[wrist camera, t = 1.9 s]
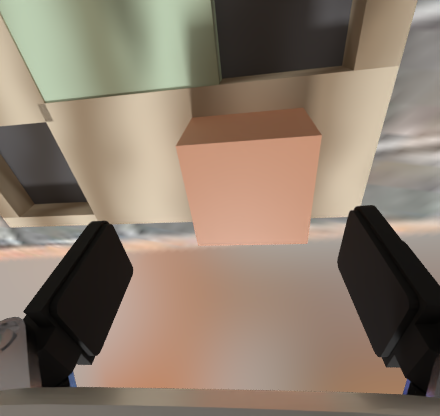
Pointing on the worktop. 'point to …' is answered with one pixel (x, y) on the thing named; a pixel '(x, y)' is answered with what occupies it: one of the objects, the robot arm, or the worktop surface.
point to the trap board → (181, 96)
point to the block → (250, 176)
